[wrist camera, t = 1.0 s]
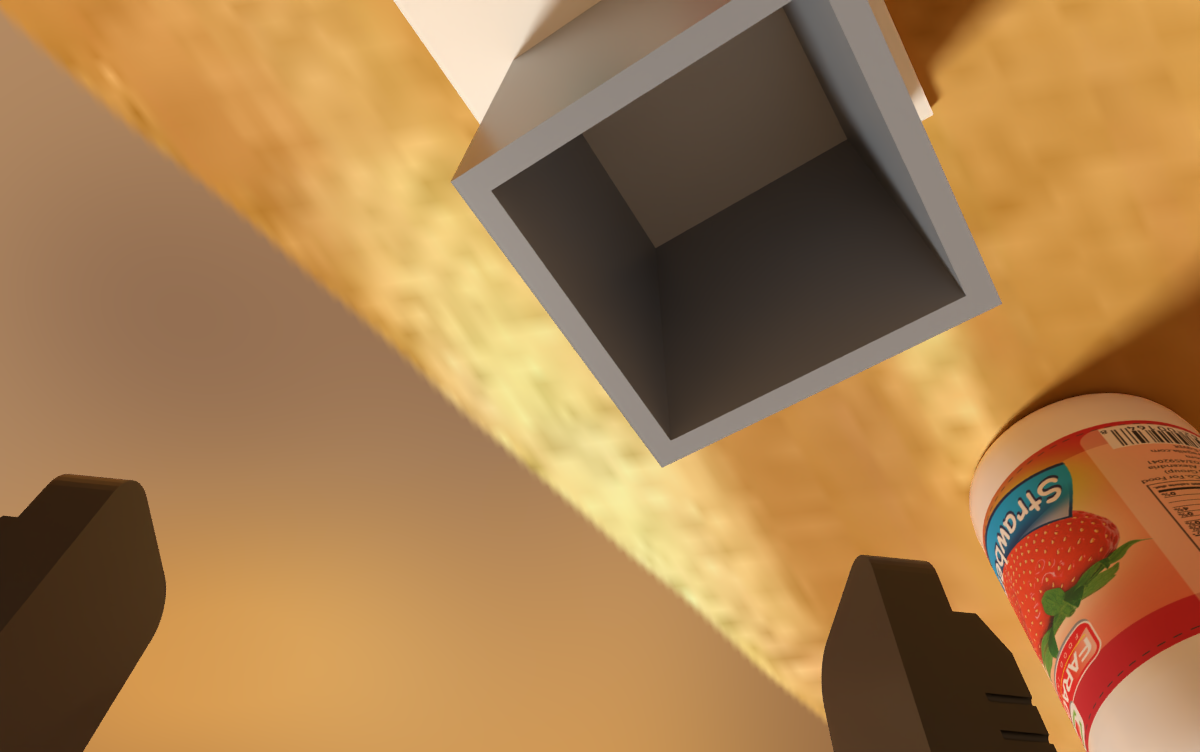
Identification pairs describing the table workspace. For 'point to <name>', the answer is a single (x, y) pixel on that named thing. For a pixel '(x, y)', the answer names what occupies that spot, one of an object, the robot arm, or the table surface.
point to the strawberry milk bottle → (1103, 562)
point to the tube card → (709, 194)
